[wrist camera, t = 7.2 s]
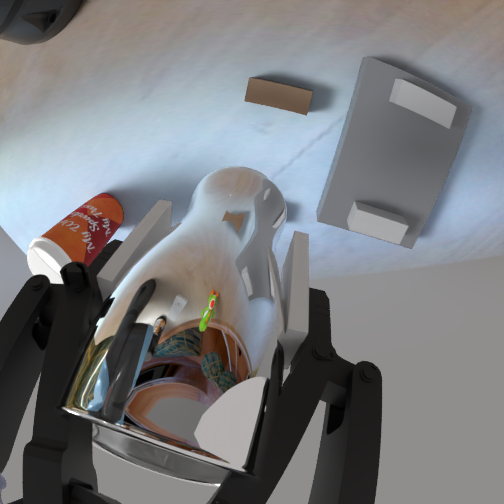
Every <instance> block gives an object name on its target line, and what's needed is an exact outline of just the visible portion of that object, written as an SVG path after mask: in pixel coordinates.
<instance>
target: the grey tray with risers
mask: <svg viewBox="0 0 504 504" xmlns="http://www.w3.org/2000/svg"><path fill="white" fill-rule="evenodd" d="M471 110H472V107H471V106H470V105H468V104H466V103H465V102H463V101H461V100H460V99H458V98H456V97H454V96H453V95H451V94H449V93H447V92H446V91H444V90H442V89H440V88H438V87H436V86H434V85H432V84H430V83H428V82H426V81H424V80H422V79H420V78H418V77H416V76H414V75H412V74H410V73H407V72H405V71H403V70H401V69H398V68H396V67H394V66H391V65H389V64H386V63H384V62H381V61H379V60H376V59H374V58H371V57H364V58H363V59H362V63H361V67H360V71H359V74H358V78H357V82H356V85H355V89H354V93H353V96H352V100H351V103H350V107H349V110H348V113H347V117H346V120H345V124H344V127H343V130H342V134H341V137H340V140H339V143H338V147H337V150H336V153H335V156H334V159H333V163H332V166H331V169H330V172H329V175H328V178H327V181H326V184H325V187H324V190H323V193H322V196H321V199H320V202H319V205H318V208H317V222H321V223H325V224H328V225H332V226H336V227H339V228H343V229H346V230H350V231H353V232H357V233H360V234H364V235H367V236H370V237H374V238H377V239H380V240H384V241H387V242H390V243H394V244H397V245H400V246H403V247H406V248H410V249H412V248H413V246H414V244H415V242H416V240H417V238H418V237H419V235H420V233H421V231H422V229H423V227H424V225H425V223H426V221H427V219H428V217H429V215H430V213H431V211H432V209H433V207H434V204H435V202H436V200H437V198H438V196H439V194H440V191H441V189H442V187H443V185H444V182H445V180H446V178H447V175H448V173H449V171H450V168H451V166H452V163H453V161H454V158H455V156H456V153H457V151H458V148H459V145H460V143H461V140H462V137H463V134H464V131H465V129H466V126H467V123H468V120H469V117H470V113H471Z"/></svg>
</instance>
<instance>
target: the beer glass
mask: <svg viewBox="0 0 504 504" xmlns="http://www.w3.org/2000/svg"><path fill="white" fill-rule="evenodd" d="M286 218H287V208H286V203H285V200H284V197H283V195H282V193H281V191H280V189H279V188H278V187H277V185H276V184H275V183H274V182H273V181H272V180H271V179H270V178H268V177H267V176H266V175H264V174H263V173H261V172H259V171H257V170H254V169H251V168H247V167H242V166H229V167H224V168H220V169H217V170H215V171H213V172H211V173H209V174H208V175H207V176H205V177H204V178H203V179H202V180H201V181H200V183H199V184H198V185H197V187H196V189H195V191H194V193H193V196H192V199H191V202H190V205H189V209H188V212H187V214H186V215H185V216H184V217H183V218H182V219H181V220H180V221H179V222H178V223H177V224H176V225H175V226H173V227H172V228H171V229H170V230H169V231H168V232H166V233H165V234H164V235H163V236H162V237H161V238H160V239H158V240H157V241H156V242H155V243H154V244H153V245H152V246H151V247H150V248H149V249H147V250H146V251H145V252H144V253H143V254H142V255H141V256H140V257H139V258H138V259H137V260H136V262H135V263H134V264H133V265H132V266H131V267H130V268H129V269H128V270H127V271H126V272H125V273H124V275H123V276H122V277H121V278H120V280H119V281H118V282H117V284H116V285H115V287H114V288H113V289H112V291H111V292H110V294H109V295H108V296H107V298H106V299H105V301H104V302H103V304H102V306H101V307H100V309H99V311H98V313H97V314H96V316H95V318H94V320H93V321H92V323H91V325H90V327H89V329H88V330H87V332H86V334H85V336H84V338H83V341H82V343H81V345H80V347H79V349H78V351H77V353H76V356H75V358H74V360H73V362H72V365H71V367H70V370H69V372H68V375H67V377H66V380H65V383H64V385H63V387H62V390H61V392H60V395H59V397H58V400H57V402H56V404H55V406H54V407H53V413H54V414H55V415H57V416H60V417H62V416H63V415H69V416H73V417H76V418H79V419H82V420H85V421H88V422H91V423H93V432H92V445H94V446H95V447H97V448H99V449H101V450H103V451H105V452H107V453H109V454H111V455H113V456H115V457H117V458H119V459H121V460H123V461H126V462H128V463H131V464H133V465H135V466H138V467H141V468H143V469H146V470H149V471H152V472H155V473H158V474H161V475H164V476H168V477H171V478H175V479H179V480H183V481H187V482H192V483H196V484H202V485H208V486H216V487H219V486H220V485H221V483H222V482H223V480H224V479H225V477H226V476H227V475H228V473H229V472H230V471H231V472H233V473H236V474H239V475H241V476H244V477H246V478H248V479H250V480H252V481H261V479H262V469H263V464H264V460H265V456H266V452H267V447H268V444H269V440H270V435H271V431H272V427H273V423H274V418H275V413H276V409H277V404H278V399H279V396H280V393H281V389H282V381H283V374H284V363H285V342H286V332H285V318H284V305H283V298H282V291H281V284H280V277H279V271H278V265H277V257H276V246H277V243H278V241H279V239H280V236H281V234H282V232H283V230H284V227H285V224H286Z"/></svg>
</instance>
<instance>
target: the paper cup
mask: <svg viewBox="0 0 504 504" xmlns="http://www.w3.org/2000/svg"><path fill="white" fill-rule="evenodd" d="M123 218H124V213H123V209H122V207H121V205H120V203H119V202H118V201H117V200H116V199H115V198H114V197H113V196H111V195H109V194H105V193H103V194H99V195H97V196H95V197H94V198H92V199H90V200H89V201H87V202H86V203H85V204H83V205H82V206H80V207H79V208H78V209H76V210H75V211H73V212H72V213H71V214H69V215H68V216H67V217H65V218H64V219H63V220H61V221H60V222H59V223H57V224H56V225H55V226H54V227H52V228H51V229H50V230H49V231H47V232H46V233H45V234H44V235H42V236H41V237H36V238H35V239H33V241H32V242H31V244H30V248H29V249H28V254H27V261H28V265H29V268H30V270H31V272H32V273H33V275H38V274H43V275H46V276H47V277H48V278H49V280H50V283H56V284H63V281H62V278H61V274H60V270H61V268H62V267H63V266H65V265H66V264H68V263H70V262H75V261H78V262H83V263H84V264H86V266H87V267H88V266H89V265H90V264H91V263H92V261H93V260H94V259H95V258H96V257H97V255H98V254H99V253H100V252H101V250H102V249H103V248H104V247H105V245H106V244H107V242H108V241H109V240H110V238H111V237H112V236H113V235H114V233H115V232H116V231H117V229H118V228H119V227H120V225H121V224H122V222H123Z"/></svg>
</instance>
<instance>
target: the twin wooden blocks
mask: <svg viewBox="0 0 504 504" xmlns="http://www.w3.org/2000/svg"><path fill="white" fill-rule="evenodd" d="M312 94H313V91H311V90H307V89H303V88H299V87H295V86H291V85H287V84H283V83H278V82H273V81H269V80H264V79H259V78H253V77H251V78H249V81H248V86H247V91H246V96H245V101H246V102H252V103H257V104H261V105H266V106H271V107H275V108H279V109H284V110H288V111H292V112H296V113H300V114H303V115H307V113H308V109H309V106H310V102H311V98H312Z"/></svg>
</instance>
